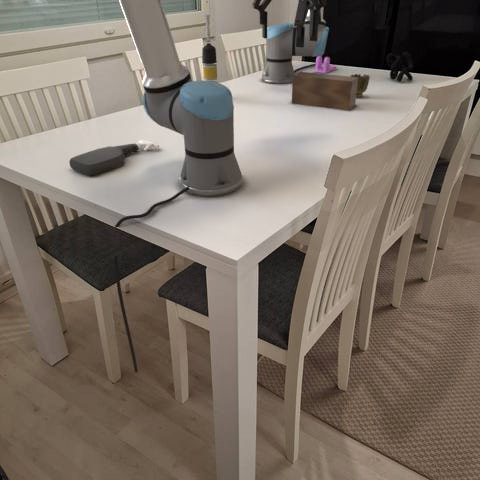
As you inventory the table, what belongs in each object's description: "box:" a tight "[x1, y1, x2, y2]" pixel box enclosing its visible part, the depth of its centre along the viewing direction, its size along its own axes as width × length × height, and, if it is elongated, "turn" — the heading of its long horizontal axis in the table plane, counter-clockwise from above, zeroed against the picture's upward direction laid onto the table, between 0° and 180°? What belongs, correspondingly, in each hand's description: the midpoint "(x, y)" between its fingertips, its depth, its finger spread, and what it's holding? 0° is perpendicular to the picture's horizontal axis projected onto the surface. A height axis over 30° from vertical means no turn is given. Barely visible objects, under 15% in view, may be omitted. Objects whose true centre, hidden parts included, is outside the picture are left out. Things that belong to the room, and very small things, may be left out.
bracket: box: [314, 56, 337, 74], centre depth 219 cm, size 13×6×7 cm, turn 143°
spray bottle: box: [68, 139, 160, 177], centre depth 124 cm, size 3×11×24 cm
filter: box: [201, 14, 219, 83], centre depth 171 cm, size 6×6×30 cm
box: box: [291, 71, 358, 111], centre depth 166 cm, size 23×7×10 cm, turn 60°
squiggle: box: [385, 51, 414, 83], centre depth 198 cm, size 11×10×15 cm
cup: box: [350, 73, 371, 98], centre depth 175 cm, size 8×7×8 cm
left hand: (288, 36), depth 124 cm, fingers open, 13 cm apart
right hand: (306, 44), depth 162 cm, fingers open, 13 cm apart
